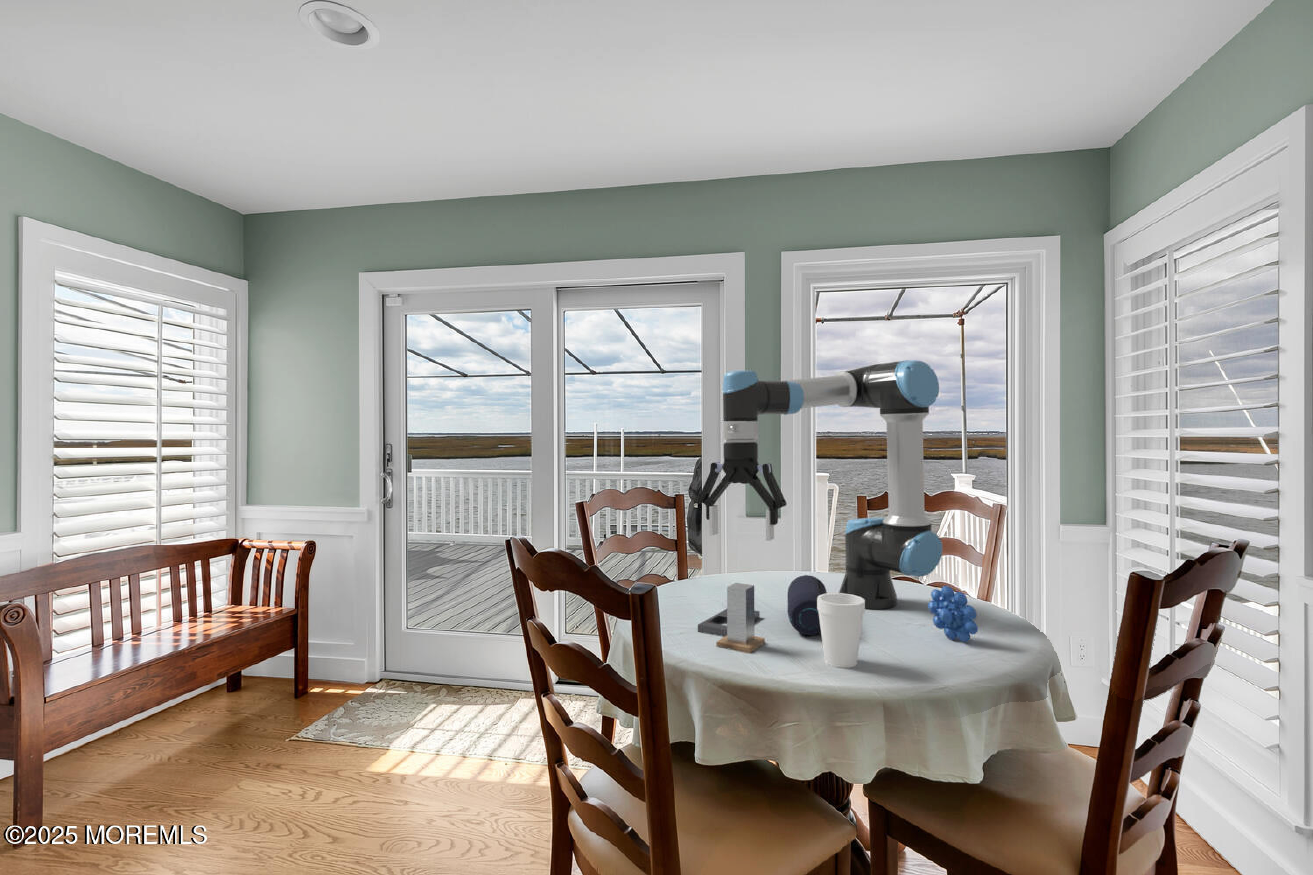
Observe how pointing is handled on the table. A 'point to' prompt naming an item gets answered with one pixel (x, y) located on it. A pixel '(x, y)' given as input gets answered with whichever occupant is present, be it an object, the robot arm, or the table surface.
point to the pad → (741, 647)
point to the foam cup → (840, 627)
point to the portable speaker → (805, 604)
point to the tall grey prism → (740, 613)
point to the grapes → (953, 614)
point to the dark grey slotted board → (718, 629)
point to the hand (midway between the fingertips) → (741, 537)
